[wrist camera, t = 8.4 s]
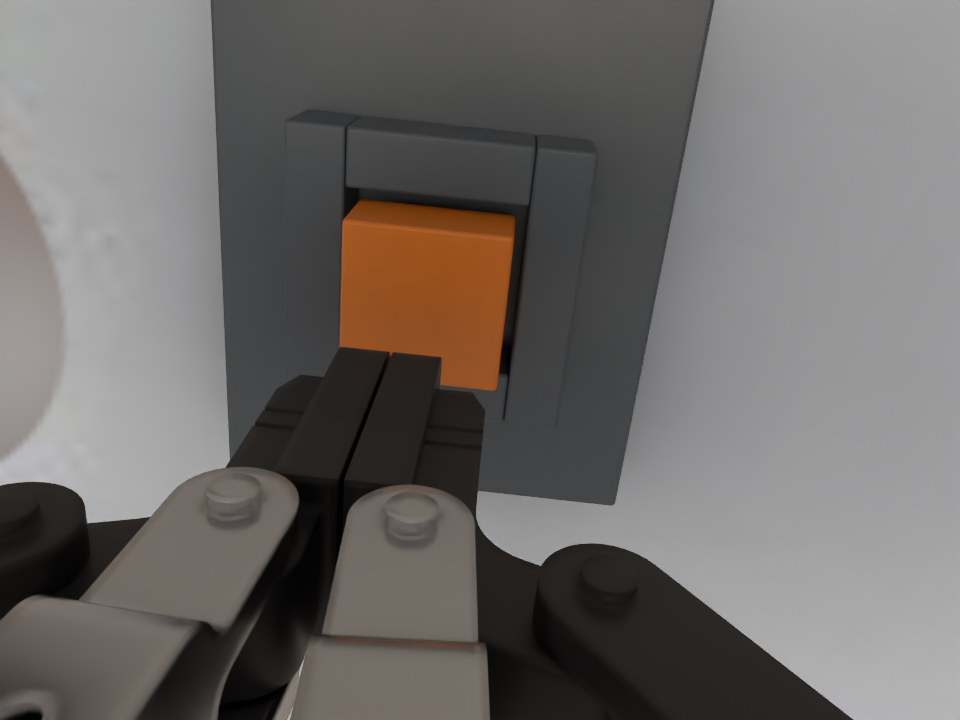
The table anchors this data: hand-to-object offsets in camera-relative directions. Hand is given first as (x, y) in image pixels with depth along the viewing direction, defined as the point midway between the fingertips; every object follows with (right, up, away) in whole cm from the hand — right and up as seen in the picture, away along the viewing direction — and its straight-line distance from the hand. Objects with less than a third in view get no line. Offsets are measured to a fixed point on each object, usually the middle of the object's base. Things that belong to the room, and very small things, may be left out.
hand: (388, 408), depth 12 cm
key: (0, +2, +5) cm, 6 cm away
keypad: (+1, +3, +7) cm, 8 cm away
